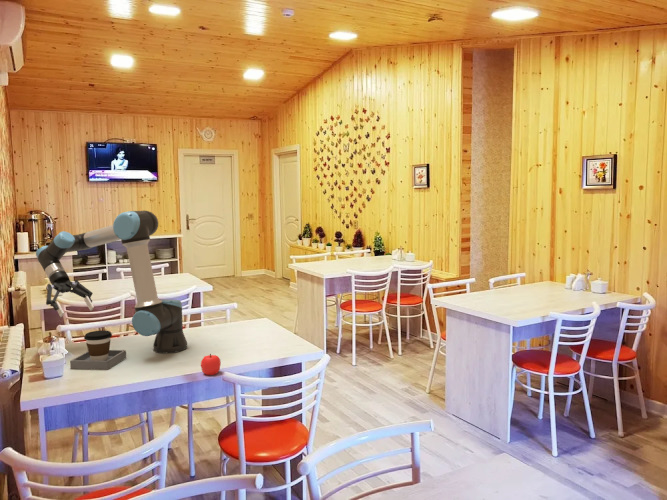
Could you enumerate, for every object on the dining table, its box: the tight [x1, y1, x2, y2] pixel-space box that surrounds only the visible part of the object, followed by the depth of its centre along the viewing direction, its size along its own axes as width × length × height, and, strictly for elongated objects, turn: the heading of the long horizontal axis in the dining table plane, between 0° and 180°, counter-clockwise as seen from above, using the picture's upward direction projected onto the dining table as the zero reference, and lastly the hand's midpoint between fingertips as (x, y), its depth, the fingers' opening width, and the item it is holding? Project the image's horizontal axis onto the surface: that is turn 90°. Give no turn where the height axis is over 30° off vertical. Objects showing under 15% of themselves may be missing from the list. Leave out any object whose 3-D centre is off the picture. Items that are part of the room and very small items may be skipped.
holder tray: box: [69, 349, 127, 371], centre depth 231 cm, size 16×16×4 cm
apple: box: [200, 353, 221, 376], centre depth 217 cm, size 8×8×8 cm
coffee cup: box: [83, 329, 113, 361], centre depth 231 cm, size 11×11×12 cm
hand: (77, 312), depth 237 cm, fingers open, 13 cm apart
